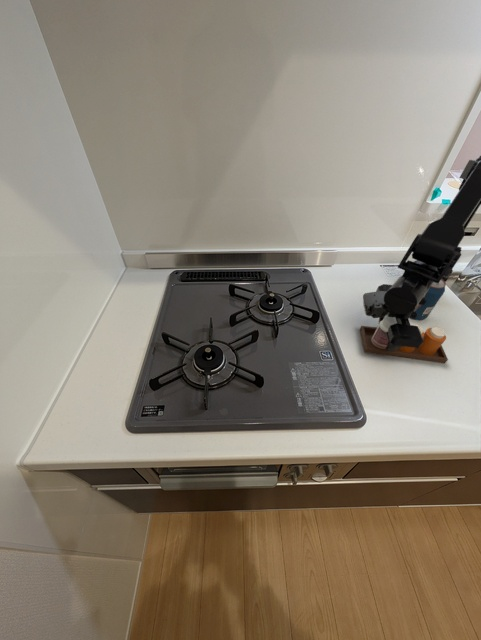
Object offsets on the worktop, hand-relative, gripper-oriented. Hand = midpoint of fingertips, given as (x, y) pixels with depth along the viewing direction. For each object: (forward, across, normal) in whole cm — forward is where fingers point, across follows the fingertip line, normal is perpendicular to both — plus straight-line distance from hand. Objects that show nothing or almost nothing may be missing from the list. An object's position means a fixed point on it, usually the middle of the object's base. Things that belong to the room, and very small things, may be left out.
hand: (383, 337), depth 71 cm
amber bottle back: (+2, 0, +11) cm, 11 cm away
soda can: (+3, -14, +12) cm, 18 cm away
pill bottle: (+2, 0, 0) cm, 2 cm away
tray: (+3, 0, +5) cm, 6 cm away
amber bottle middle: (+2, 0, +6) cm, 6 cm away
